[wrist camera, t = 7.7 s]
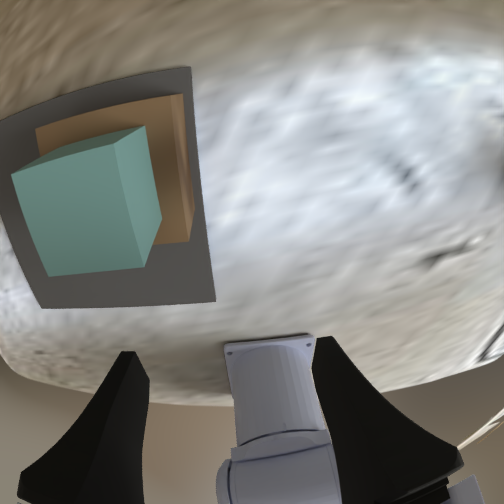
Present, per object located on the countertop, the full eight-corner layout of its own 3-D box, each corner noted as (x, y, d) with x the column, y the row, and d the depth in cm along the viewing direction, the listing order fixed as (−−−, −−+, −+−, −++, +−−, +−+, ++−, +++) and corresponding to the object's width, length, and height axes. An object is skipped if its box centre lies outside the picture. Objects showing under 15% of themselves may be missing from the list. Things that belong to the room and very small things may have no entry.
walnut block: (195, 208, 18) (188, 241, 14) (92, 220, 17) (68, 253, 14) (182, 93, 14) (170, 95, 11) (70, 117, 14) (35, 129, 10)
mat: (215, 298, 22) (216, 301, 22) (43, 305, 21) (41, 308, 21) (191, 67, 14) (190, 66, 13) (-17, 130, 13) (-20, 131, 12)
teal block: (162, 218, 14) (144, 267, 10) (82, 230, 13) (48, 276, 10) (145, 125, 11) (113, 143, 8) (59, 147, 11) (10, 174, 8)
